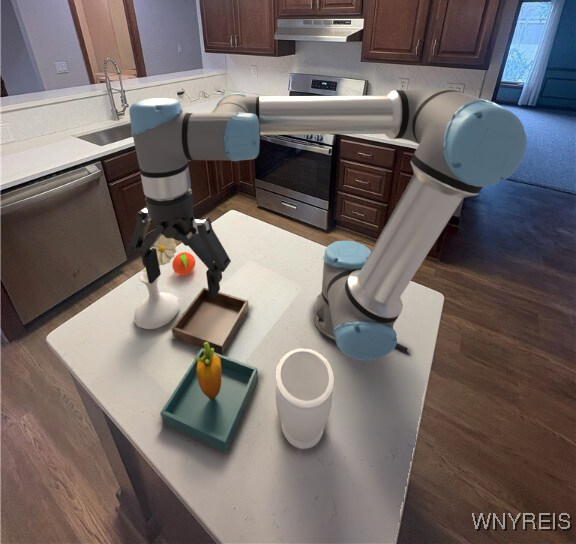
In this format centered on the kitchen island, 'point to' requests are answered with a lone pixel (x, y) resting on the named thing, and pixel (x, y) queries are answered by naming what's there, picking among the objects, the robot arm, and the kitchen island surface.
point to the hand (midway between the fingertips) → (184, 286)
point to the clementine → (183, 263)
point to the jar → (303, 395)
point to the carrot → (209, 372)
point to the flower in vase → (157, 304)
